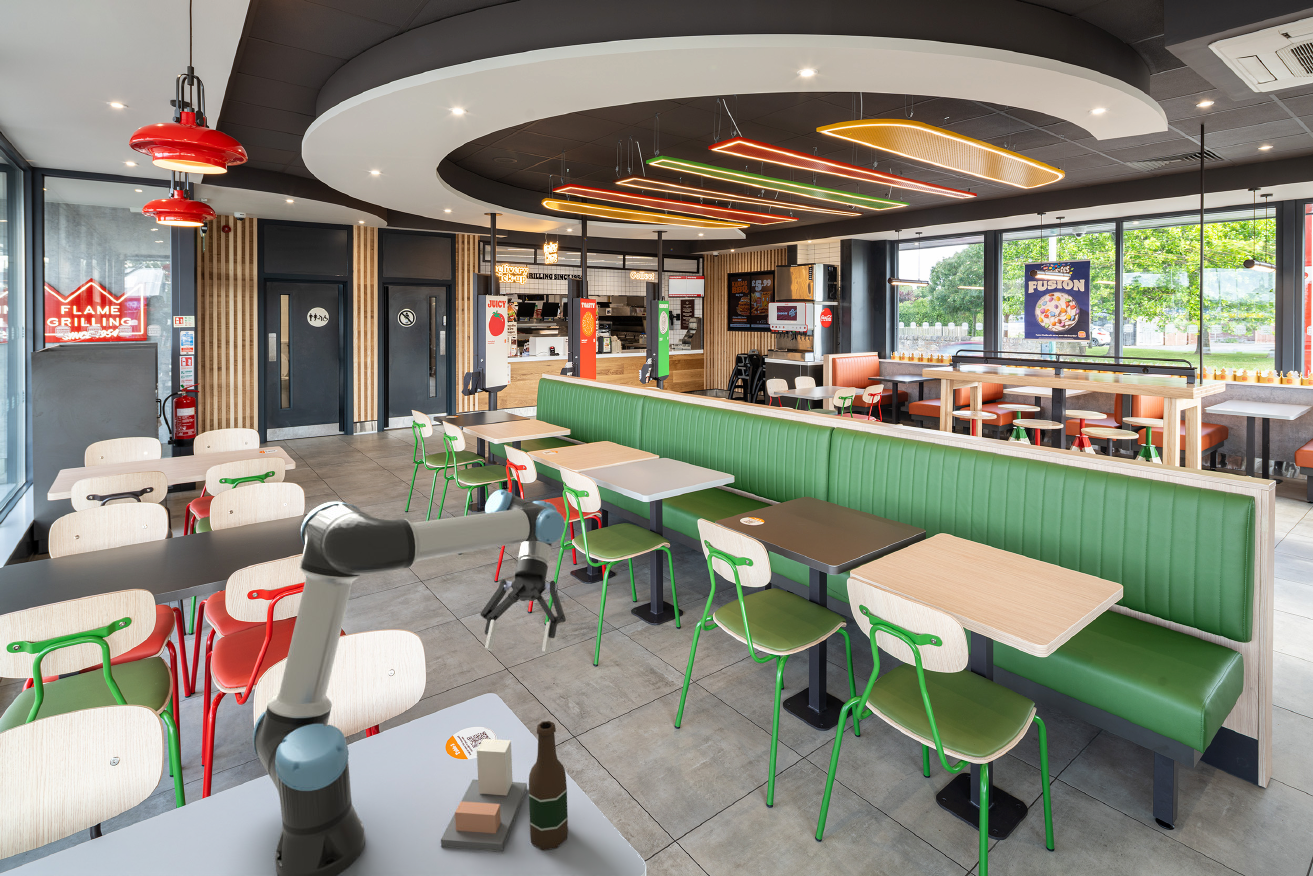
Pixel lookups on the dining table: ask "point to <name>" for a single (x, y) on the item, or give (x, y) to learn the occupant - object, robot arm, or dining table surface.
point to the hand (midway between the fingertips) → (516, 651)
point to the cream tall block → (494, 766)
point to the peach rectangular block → (477, 817)
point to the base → (508, 815)
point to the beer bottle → (547, 793)
